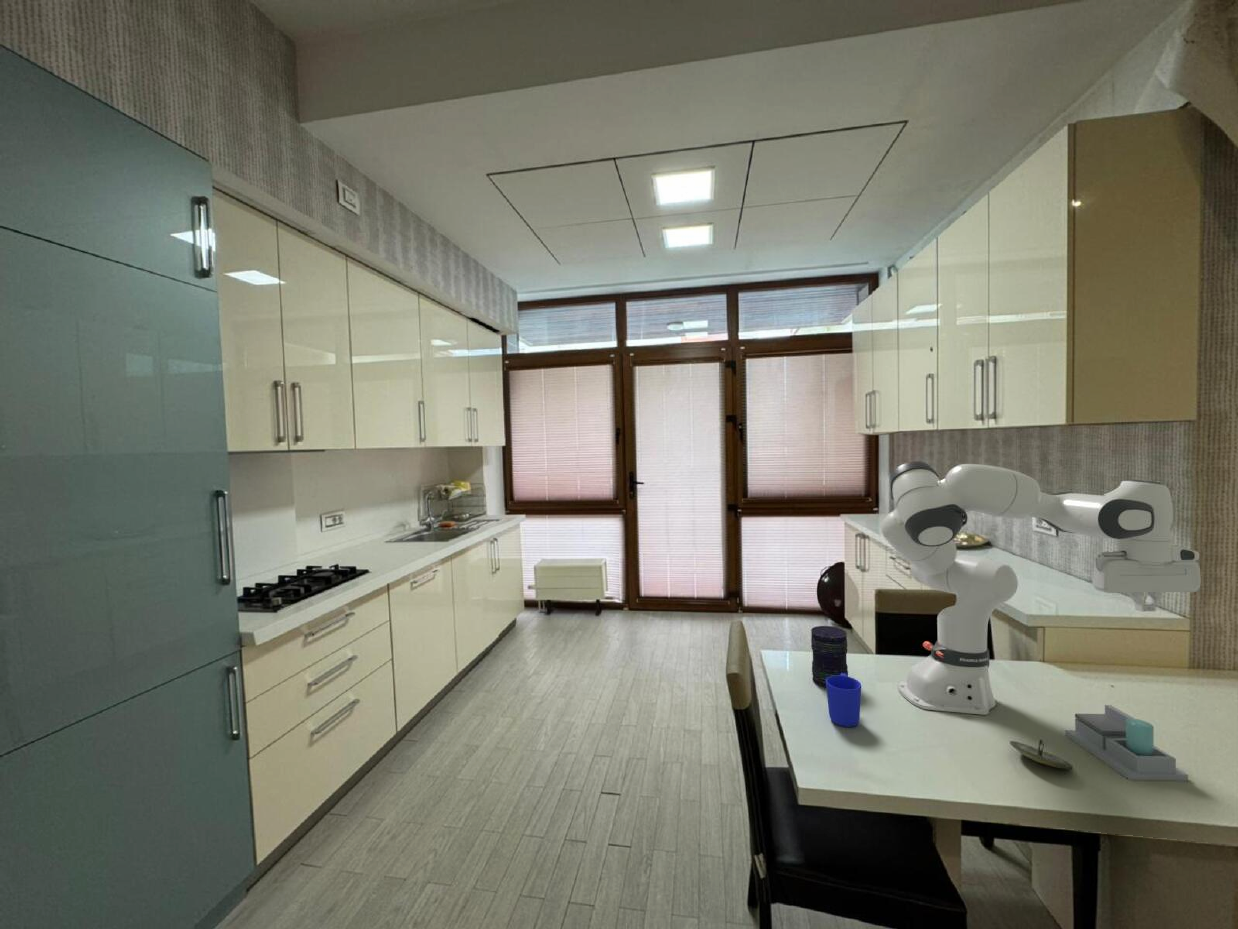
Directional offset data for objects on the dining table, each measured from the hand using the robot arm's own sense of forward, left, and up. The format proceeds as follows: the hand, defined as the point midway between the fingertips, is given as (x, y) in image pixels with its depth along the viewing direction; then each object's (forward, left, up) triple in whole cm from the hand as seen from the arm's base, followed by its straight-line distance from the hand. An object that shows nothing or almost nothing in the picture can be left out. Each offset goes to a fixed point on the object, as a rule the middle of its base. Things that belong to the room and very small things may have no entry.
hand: (1145, 610), depth 115 cm
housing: (-12, -8, -29) cm, 32 cm away
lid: (-31, -11, -29) cm, 44 cm away
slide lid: (-12, -4, -25) cm, 28 cm away
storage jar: (-62, +27, -29) cm, 74 cm away
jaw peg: (-12, -12, -28) cm, 33 cm away
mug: (-65, +7, -29) cm, 72 cm away
